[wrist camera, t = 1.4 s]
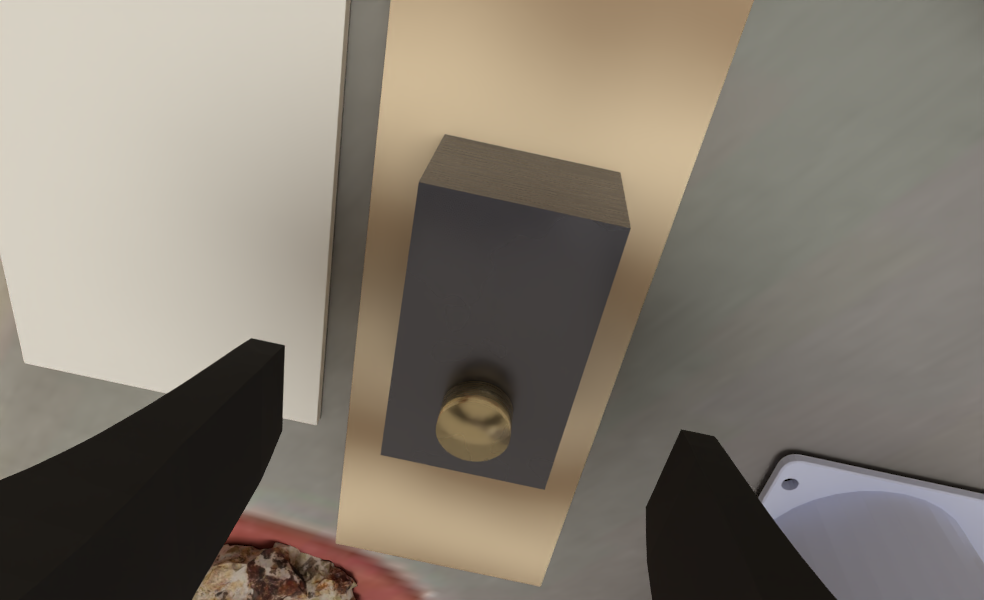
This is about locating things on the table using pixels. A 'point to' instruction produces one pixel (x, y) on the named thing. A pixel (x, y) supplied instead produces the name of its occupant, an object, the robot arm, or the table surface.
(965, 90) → the table surface
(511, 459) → the lever cap
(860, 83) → the table surface
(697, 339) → the table surface
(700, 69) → the body
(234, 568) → the mineral rock
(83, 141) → the mat
